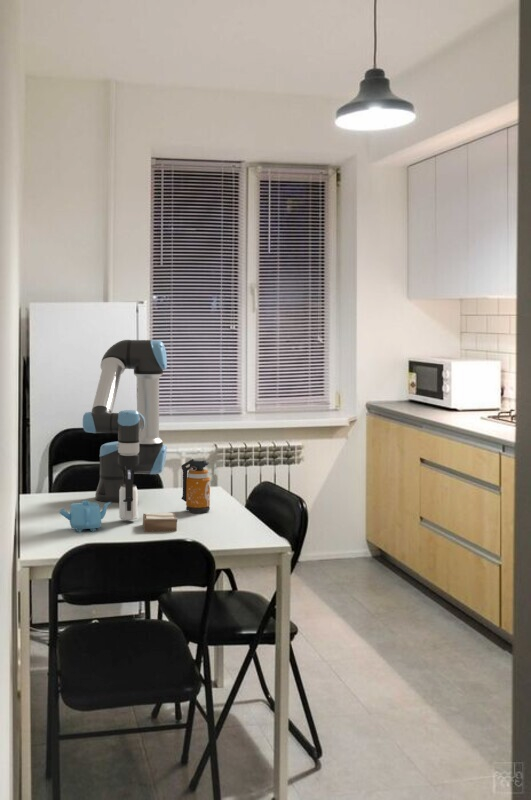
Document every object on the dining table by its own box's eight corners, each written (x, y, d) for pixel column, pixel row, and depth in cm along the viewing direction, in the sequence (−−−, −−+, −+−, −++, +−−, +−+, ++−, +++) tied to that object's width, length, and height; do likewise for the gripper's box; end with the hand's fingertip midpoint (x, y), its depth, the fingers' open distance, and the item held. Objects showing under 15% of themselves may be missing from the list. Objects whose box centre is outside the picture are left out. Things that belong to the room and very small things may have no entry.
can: (132, 515, 330) (132, 483, 329) (140, 518, 325) (140, 486, 324) (116, 517, 326) (116, 484, 325) (124, 521, 321) (124, 487, 320)
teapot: (61, 535, 303) (61, 505, 302) (56, 526, 316) (56, 497, 315) (115, 532, 309) (115, 502, 308) (107, 523, 322) (107, 495, 322)
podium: (142, 524, 321) (143, 512, 320) (173, 524, 323) (174, 512, 322) (144, 531, 310) (144, 519, 310) (176, 531, 312) (176, 518, 312)
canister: (206, 514, 340) (206, 461, 339) (177, 512, 342) (178, 460, 341) (212, 509, 349) (212, 458, 347) (184, 508, 351) (185, 457, 350)
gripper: (117, 449, 332) (117, 511, 334) (118, 458, 313) (118, 523, 315) (137, 449, 334) (137, 510, 336) (140, 458, 315) (140, 523, 317)
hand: (128, 516), depth 326 cm, fingers closed on can, 6 cm apart
